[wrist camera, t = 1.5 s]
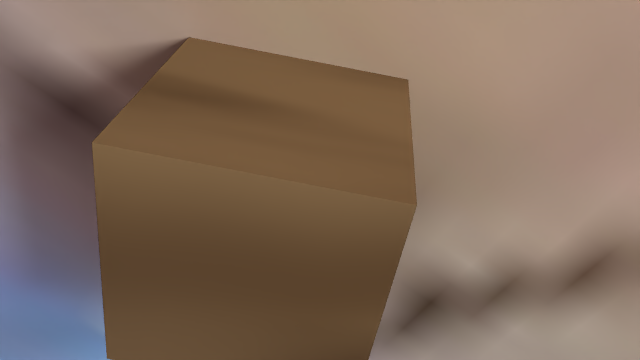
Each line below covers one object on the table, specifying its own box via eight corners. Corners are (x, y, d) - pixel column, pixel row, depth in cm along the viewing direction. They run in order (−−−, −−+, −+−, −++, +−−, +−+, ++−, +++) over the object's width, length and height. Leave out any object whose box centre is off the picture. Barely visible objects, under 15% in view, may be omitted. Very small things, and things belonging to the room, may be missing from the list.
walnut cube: (363, 247, 15) (353, 406, 11) (183, 212, 15) (106, 358, 11) (407, 78, 13) (416, 205, 9) (189, 36, 13) (91, 142, 9)
